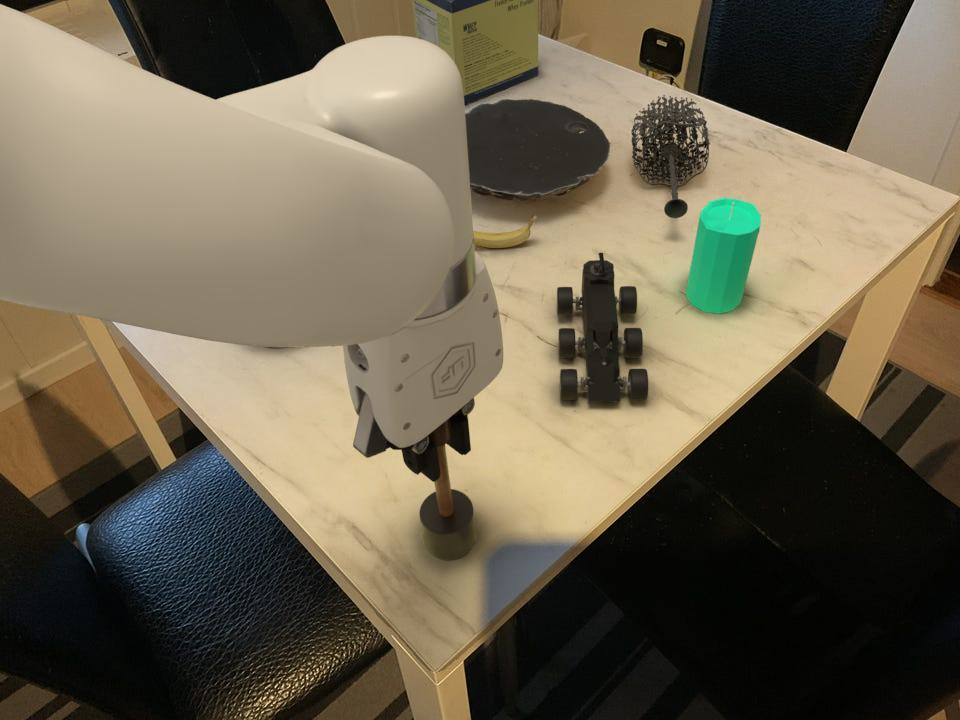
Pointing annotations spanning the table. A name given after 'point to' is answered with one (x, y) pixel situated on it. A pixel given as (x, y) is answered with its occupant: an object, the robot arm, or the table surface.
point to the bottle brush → (447, 509)
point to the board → (531, 149)
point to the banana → (503, 237)
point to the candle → (722, 254)
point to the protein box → (483, 40)
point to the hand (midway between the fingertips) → (438, 455)
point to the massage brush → (670, 147)
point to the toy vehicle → (600, 337)
